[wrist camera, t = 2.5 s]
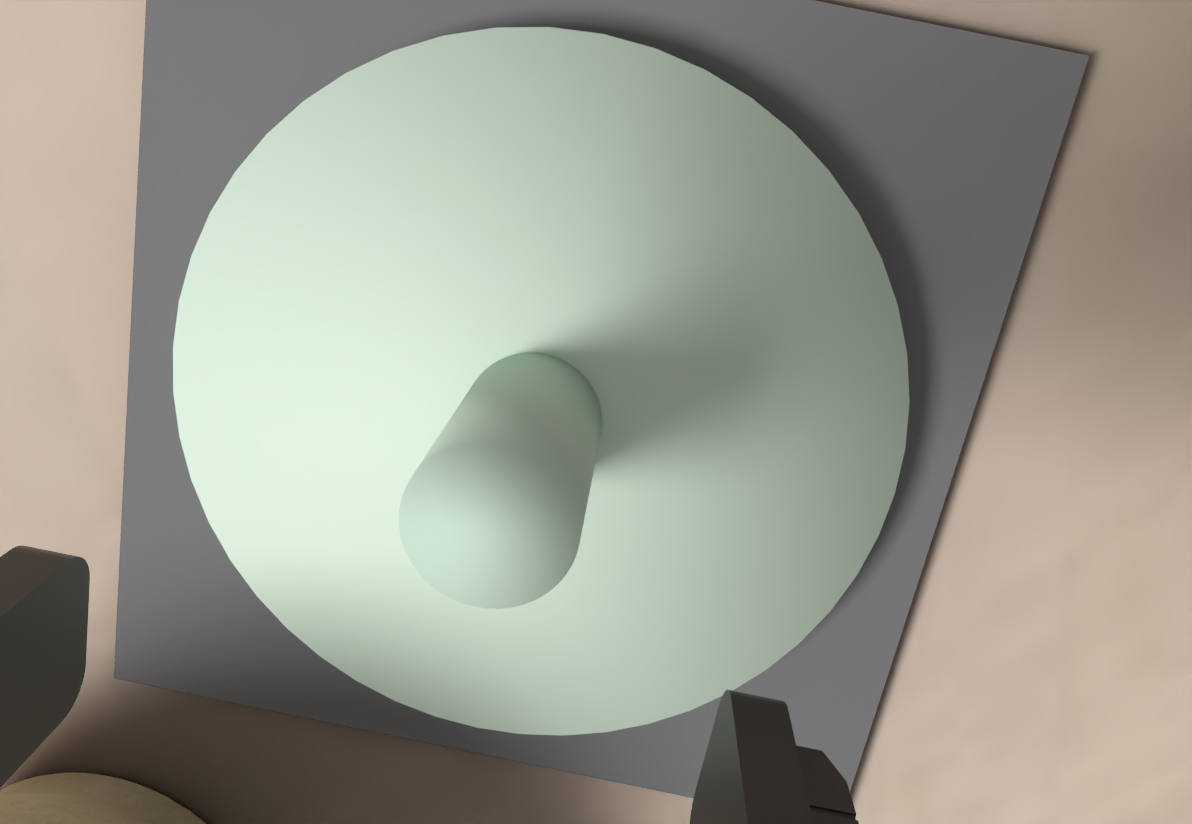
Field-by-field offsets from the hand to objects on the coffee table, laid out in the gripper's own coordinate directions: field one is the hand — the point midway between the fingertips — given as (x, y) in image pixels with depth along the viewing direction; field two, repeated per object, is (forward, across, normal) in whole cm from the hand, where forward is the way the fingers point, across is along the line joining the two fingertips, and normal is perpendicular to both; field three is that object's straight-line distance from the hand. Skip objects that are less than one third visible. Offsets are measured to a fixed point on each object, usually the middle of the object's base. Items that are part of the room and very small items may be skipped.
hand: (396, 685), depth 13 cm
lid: (+12, 0, 0) cm, 12 cm away
